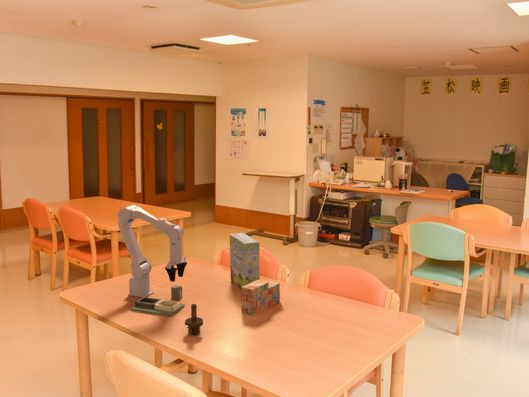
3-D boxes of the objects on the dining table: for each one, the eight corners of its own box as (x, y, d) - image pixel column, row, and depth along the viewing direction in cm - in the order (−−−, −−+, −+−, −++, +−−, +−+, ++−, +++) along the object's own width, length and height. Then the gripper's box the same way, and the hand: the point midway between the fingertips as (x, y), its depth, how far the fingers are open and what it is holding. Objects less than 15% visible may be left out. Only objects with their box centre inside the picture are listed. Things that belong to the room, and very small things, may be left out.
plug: (171, 298, 241) (171, 287, 240) (175, 296, 244) (174, 285, 243) (178, 299, 239) (178, 288, 238) (182, 297, 243) (182, 286, 242)
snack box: (228, 281, 266) (228, 233, 262) (244, 278, 270) (243, 232, 266) (244, 294, 247) (244, 243, 243) (260, 291, 251) (260, 241, 247)
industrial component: (191, 338, 197) (190, 309, 195) (181, 332, 202) (180, 304, 200) (210, 331, 203) (210, 303, 201) (200, 326, 209) (199, 298, 207)
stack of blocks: (269, 299, 241) (269, 274, 239) (280, 301, 237) (280, 276, 235) (241, 312, 224) (241, 286, 222) (252, 316, 220) (252, 289, 218)
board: (131, 310, 225) (130, 304, 225) (147, 300, 238) (147, 294, 237) (170, 316, 219) (169, 310, 218) (184, 306, 231) (184, 299, 230)
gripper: (175, 256, 230) (176, 284, 232) (190, 248, 243) (191, 275, 245) (162, 254, 232) (162, 282, 234) (178, 247, 246) (178, 273, 248)
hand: (176, 279), depth 240 cm, fingers open, 7 cm apart
